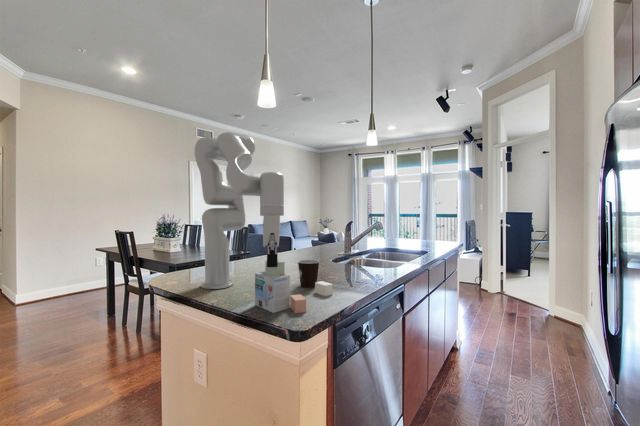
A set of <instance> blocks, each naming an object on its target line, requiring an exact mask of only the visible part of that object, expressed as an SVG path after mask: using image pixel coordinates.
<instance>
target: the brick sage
mask: <svg viewBox="0 0 640 426" xmlns="http://www.w3.org/2000/svg"><path fill="white" fill-rule="evenodd" d="M264 263H265V264H264V265H265V266H264V267H265V275H285V274H286V272H285V260H284V259H283V260H278V266H277V267H267V260H265V262H264Z"/></svg>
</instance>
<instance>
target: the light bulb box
mask: <svg viewBox="0 0 640 426" xmlns="http://www.w3.org/2000/svg"><path fill="white" fill-rule="evenodd" d="M290 283H291V275H290V274H287V273H285V275H265V271H259V272H255V274H254V305H255V306H257V307H259V308H261V309H263V310H266V311H268V312H271V313H272V314H274V313H278V312H281V311H285V310H289V309H291V308H290V295H291V293H290V292H291V289H290V288H291V284H290Z"/></svg>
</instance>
